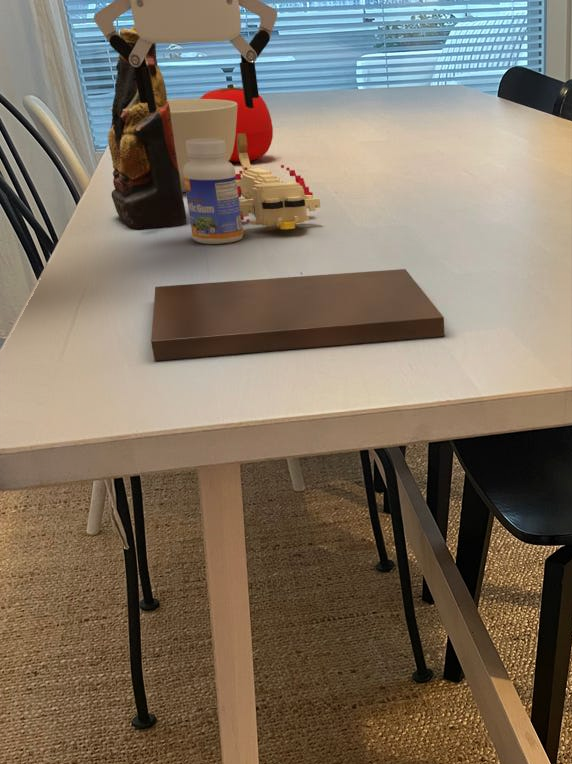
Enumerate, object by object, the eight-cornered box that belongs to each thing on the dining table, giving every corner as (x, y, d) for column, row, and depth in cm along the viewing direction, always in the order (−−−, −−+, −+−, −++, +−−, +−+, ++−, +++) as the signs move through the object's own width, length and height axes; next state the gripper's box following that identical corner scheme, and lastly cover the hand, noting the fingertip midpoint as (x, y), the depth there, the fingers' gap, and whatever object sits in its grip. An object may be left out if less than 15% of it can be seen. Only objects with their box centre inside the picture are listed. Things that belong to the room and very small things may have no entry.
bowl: (248, 195, 128) (237, 109, 123) (121, 201, 126) (104, 113, 120) (247, 176, 141) (236, 97, 136) (131, 181, 139) (116, 100, 133)
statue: (114, 215, 119) (74, 19, 107) (181, 209, 121) (149, 17, 110) (124, 234, 109) (82, 22, 98) (197, 228, 112) (164, 21, 101)
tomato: (268, 166, 149) (259, 87, 143) (192, 167, 149) (179, 88, 143) (283, 154, 159) (275, 80, 153) (211, 155, 159) (200, 81, 153)
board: (154, 361, 73) (150, 341, 72) (158, 304, 86) (154, 286, 85) (444, 336, 77) (444, 317, 76) (406, 285, 90) (405, 268, 89)
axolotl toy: (210, 212, 126) (244, 233, 105) (198, 135, 121) (230, 142, 101) (287, 206, 129) (334, 225, 108) (277, 131, 124) (325, 136, 104)
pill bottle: (182, 241, 106) (165, 141, 101) (220, 232, 110) (206, 135, 105) (217, 247, 104) (202, 144, 98) (254, 237, 107) (241, 138, 102)
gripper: (261, -100, 95) (283, 101, 105) (73, -98, 92) (115, 109, 101) (266, -104, 89) (290, 109, 99) (66, -103, 86) (111, 118, 95)
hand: (201, 109), depth 100 cm, fingers open, 9 cm apart
